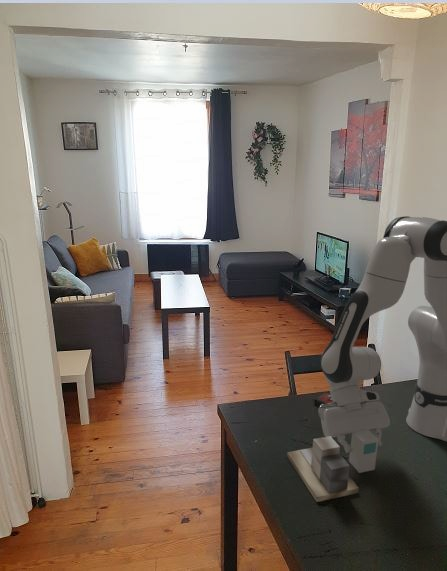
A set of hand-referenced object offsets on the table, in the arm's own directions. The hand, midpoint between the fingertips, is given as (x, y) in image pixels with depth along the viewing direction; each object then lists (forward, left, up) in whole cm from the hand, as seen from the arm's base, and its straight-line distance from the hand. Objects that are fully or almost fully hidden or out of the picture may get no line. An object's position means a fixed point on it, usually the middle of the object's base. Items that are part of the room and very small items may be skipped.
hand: (364, 449), depth 117 cm
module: (0, 0, -6) cm, 6 cm away
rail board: (+13, 0, -6) cm, 14 cm away
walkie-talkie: (-9, -26, -6) cm, 28 cm away
